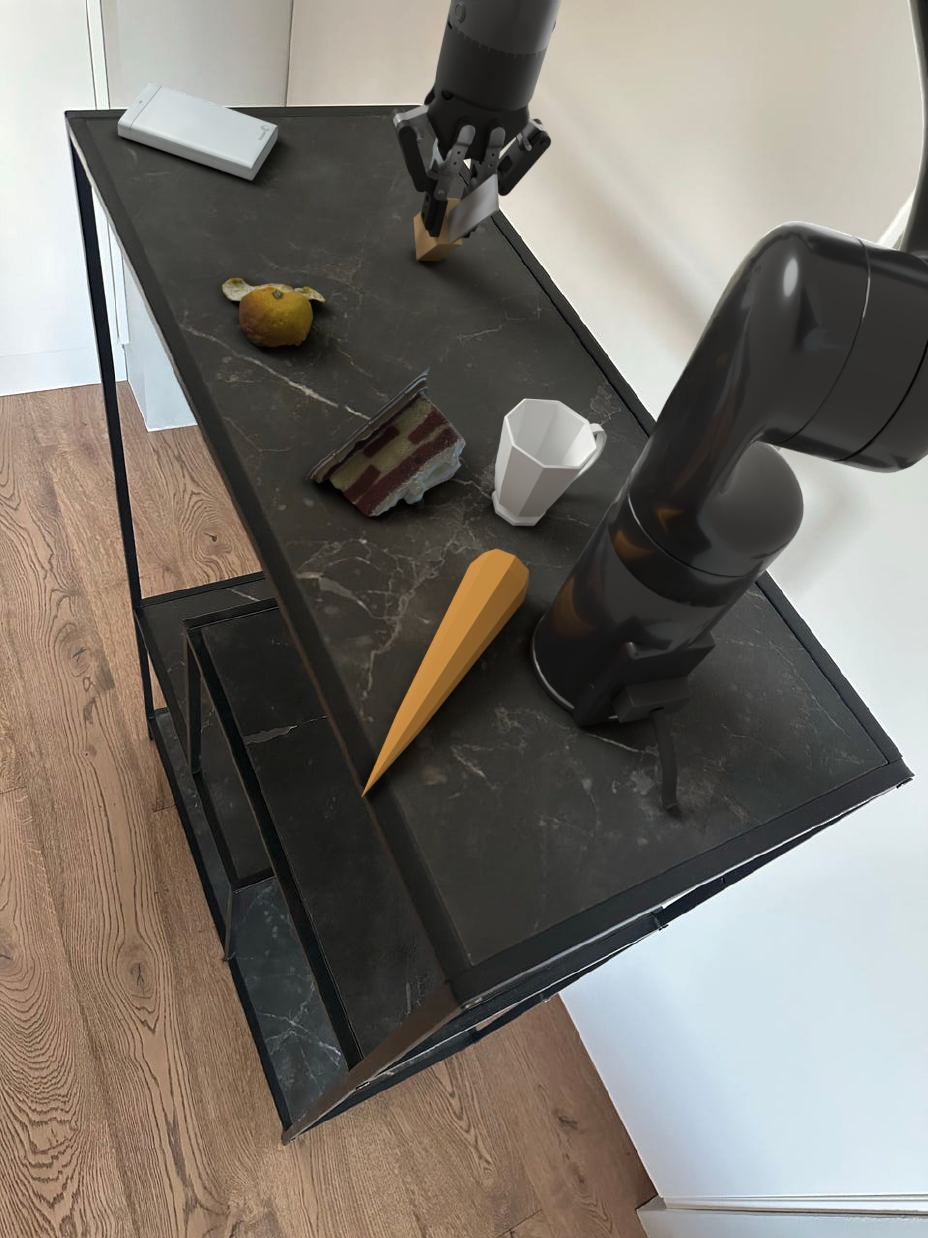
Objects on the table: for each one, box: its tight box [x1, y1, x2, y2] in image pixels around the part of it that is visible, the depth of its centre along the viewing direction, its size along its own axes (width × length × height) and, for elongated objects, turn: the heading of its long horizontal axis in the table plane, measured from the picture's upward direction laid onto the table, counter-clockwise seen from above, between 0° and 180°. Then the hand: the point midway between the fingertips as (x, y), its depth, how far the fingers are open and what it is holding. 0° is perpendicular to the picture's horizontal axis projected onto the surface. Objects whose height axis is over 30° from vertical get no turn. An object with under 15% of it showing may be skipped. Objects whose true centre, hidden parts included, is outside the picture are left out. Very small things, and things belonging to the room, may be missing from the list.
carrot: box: [360, 548, 530, 798], centre depth 59 cm, size 20×4×4 cm
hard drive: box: [117, 81, 279, 181], centre depth 84 cm, size 2×8×12 cm
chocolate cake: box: [305, 365, 466, 518], centre depth 67 cm, size 10×7×12 cm
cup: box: [491, 398, 608, 527], centre depth 67 cm, size 7×10×8 cm
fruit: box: [221, 277, 326, 348], centre depth 73 cm, size 8×8×4 cm
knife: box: [413, 174, 500, 262], centre depth 76 cm, size 16×2×4 cm
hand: (446, 230), depth 79 cm, fingers closed on knife, 2 cm apart
